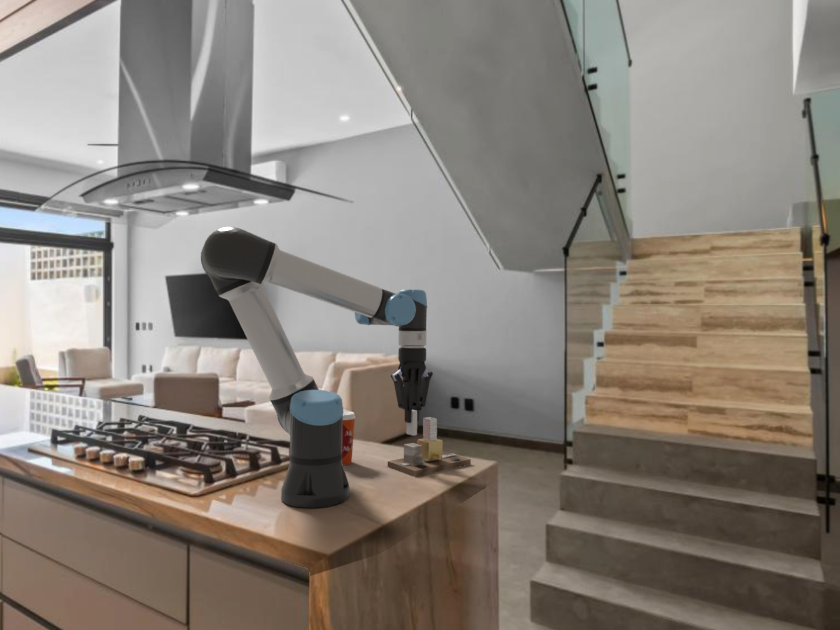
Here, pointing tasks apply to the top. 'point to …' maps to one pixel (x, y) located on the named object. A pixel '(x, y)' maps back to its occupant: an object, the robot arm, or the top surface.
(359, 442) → the top surface
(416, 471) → the assembly board
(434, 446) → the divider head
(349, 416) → the paper cup
